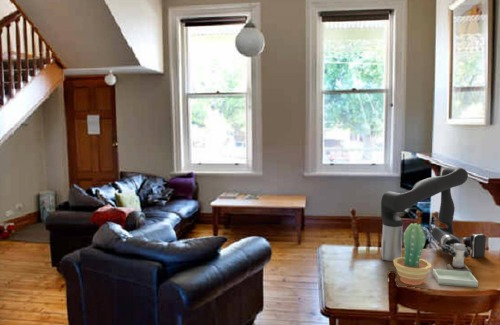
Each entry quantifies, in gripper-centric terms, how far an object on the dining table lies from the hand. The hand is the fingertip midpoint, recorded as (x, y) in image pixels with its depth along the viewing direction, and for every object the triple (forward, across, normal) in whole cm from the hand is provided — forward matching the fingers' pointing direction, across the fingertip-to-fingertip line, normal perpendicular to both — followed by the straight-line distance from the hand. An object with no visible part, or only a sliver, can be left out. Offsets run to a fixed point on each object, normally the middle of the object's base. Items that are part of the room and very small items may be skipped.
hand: (460, 255), depth 182 cm
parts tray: (+10, -5, +8) cm, 14 cm away
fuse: (-3, 0, +6) cm, 7 cm away
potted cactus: (+14, -23, +9) cm, 28 cm away
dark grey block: (-25, +14, +8) cm, 30 cm away
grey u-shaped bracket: (-3, 0, +8) cm, 9 cm away
